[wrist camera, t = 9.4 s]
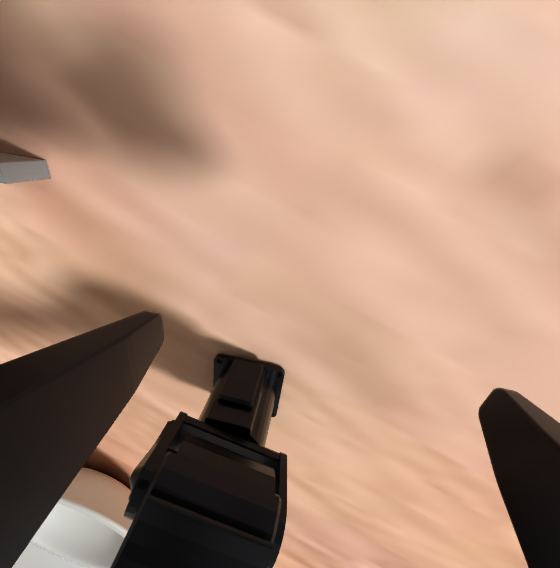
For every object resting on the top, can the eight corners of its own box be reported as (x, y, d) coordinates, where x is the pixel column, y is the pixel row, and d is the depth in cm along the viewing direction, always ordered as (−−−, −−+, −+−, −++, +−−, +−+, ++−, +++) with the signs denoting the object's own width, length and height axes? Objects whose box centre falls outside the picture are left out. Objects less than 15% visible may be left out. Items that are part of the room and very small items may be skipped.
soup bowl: (3, 446, 42) (-49, 494, 36) (103, 423, 34) (56, 480, 28) (106, 523, 50) (77, 573, 44) (206, 520, 42) (186, 579, 36)
